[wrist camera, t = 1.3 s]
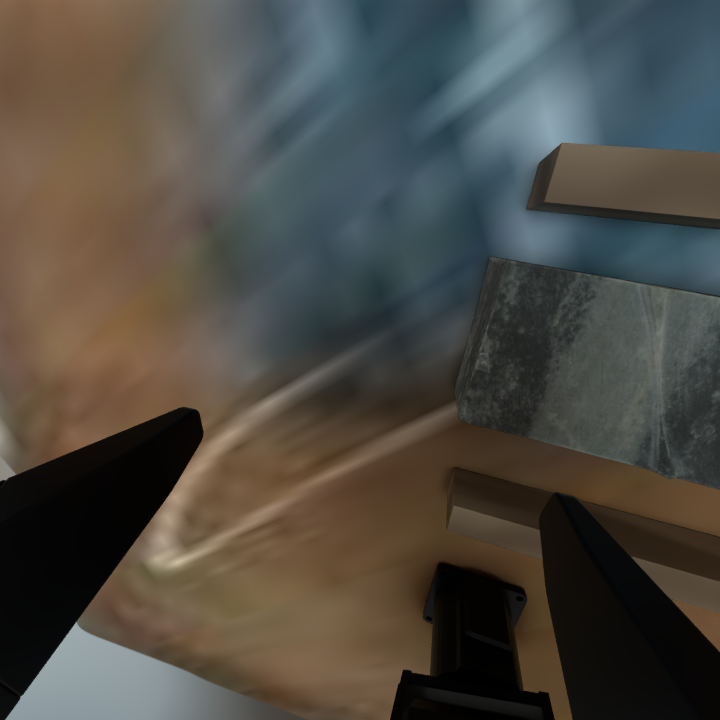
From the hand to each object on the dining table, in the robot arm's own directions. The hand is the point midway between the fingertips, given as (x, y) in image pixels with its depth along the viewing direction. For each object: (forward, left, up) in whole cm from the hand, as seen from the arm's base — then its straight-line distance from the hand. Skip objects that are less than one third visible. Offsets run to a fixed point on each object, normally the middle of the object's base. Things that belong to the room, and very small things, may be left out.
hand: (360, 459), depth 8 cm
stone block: (0, -10, -13) cm, 17 cm away
